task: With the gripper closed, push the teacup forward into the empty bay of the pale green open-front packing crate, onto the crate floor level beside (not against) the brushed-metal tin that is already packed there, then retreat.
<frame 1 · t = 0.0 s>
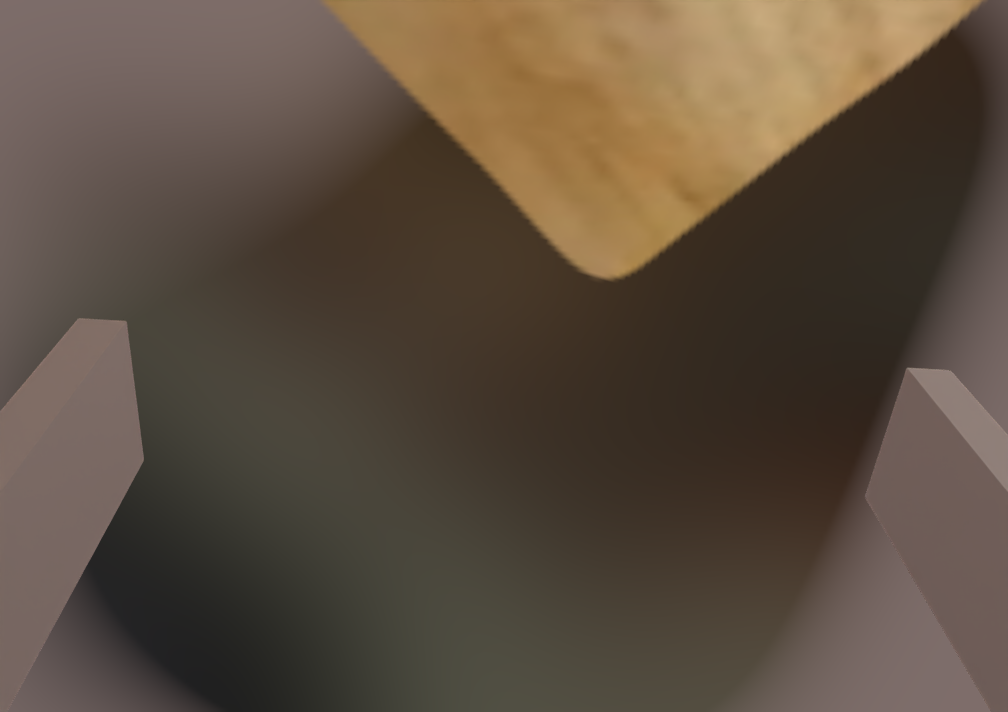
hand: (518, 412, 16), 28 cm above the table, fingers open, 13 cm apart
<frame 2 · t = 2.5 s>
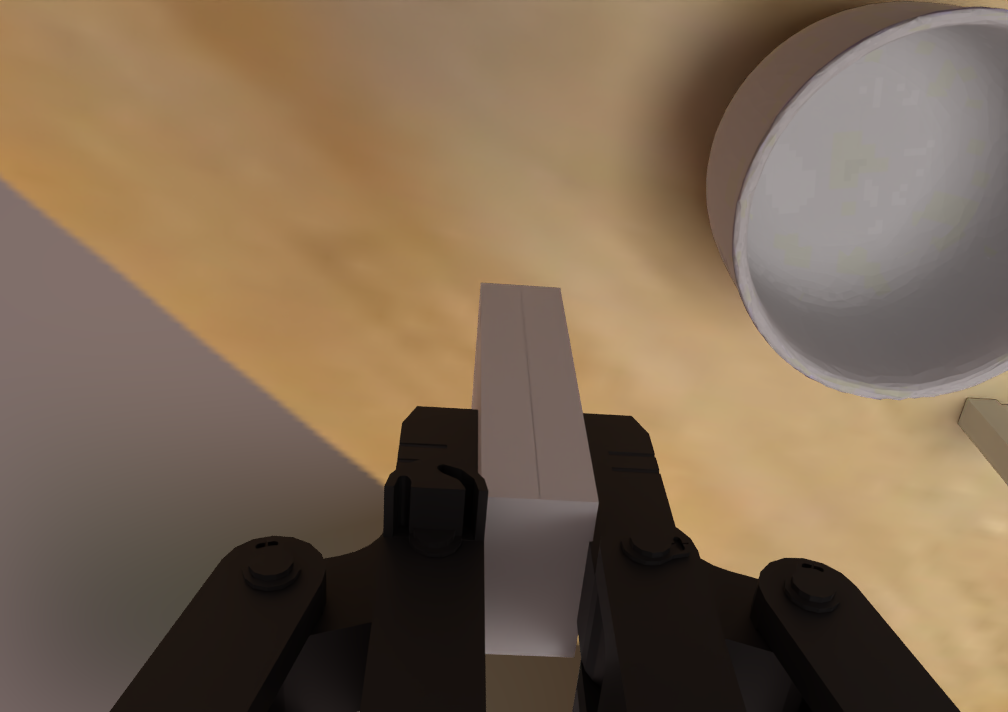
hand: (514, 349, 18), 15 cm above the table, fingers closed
teacup: (880, 153, 32), on the table
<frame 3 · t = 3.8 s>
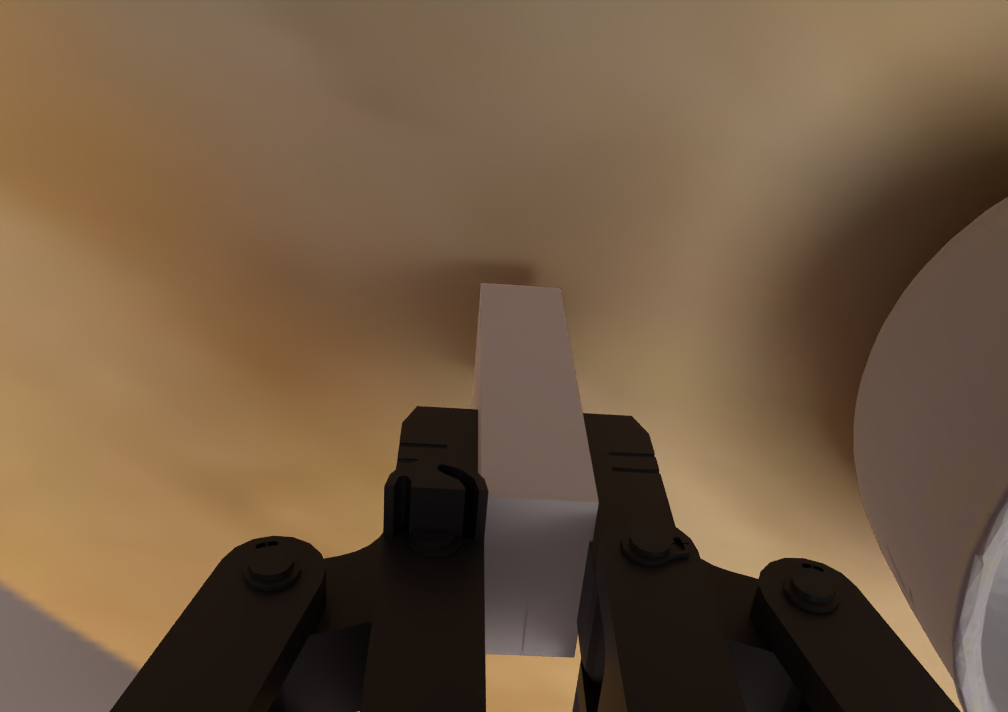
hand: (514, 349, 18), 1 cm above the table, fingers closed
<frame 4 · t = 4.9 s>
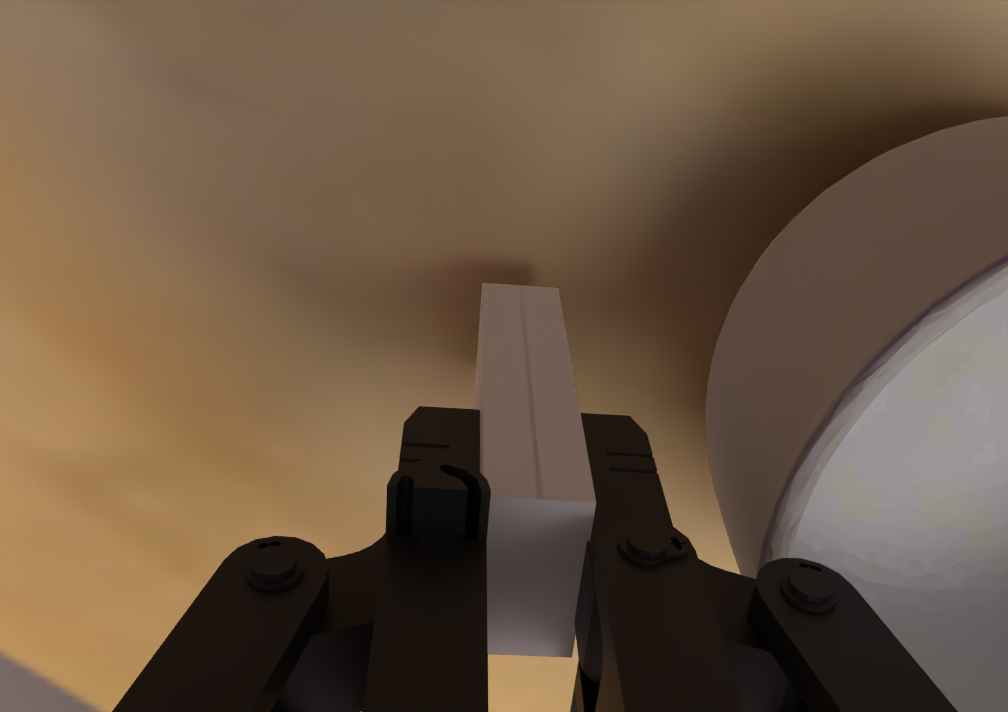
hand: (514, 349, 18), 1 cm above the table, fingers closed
teacup: (989, 331, 20), on the table, touching gripper
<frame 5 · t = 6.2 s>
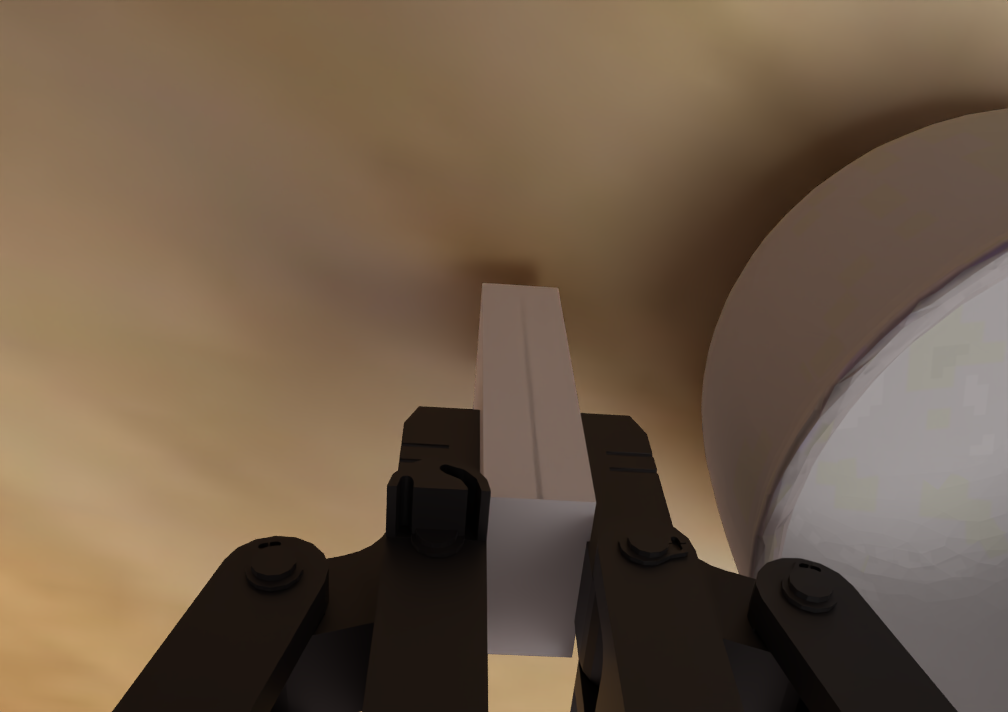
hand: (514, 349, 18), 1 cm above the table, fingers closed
teacup: (986, 323, 20), on the table, touching gripper
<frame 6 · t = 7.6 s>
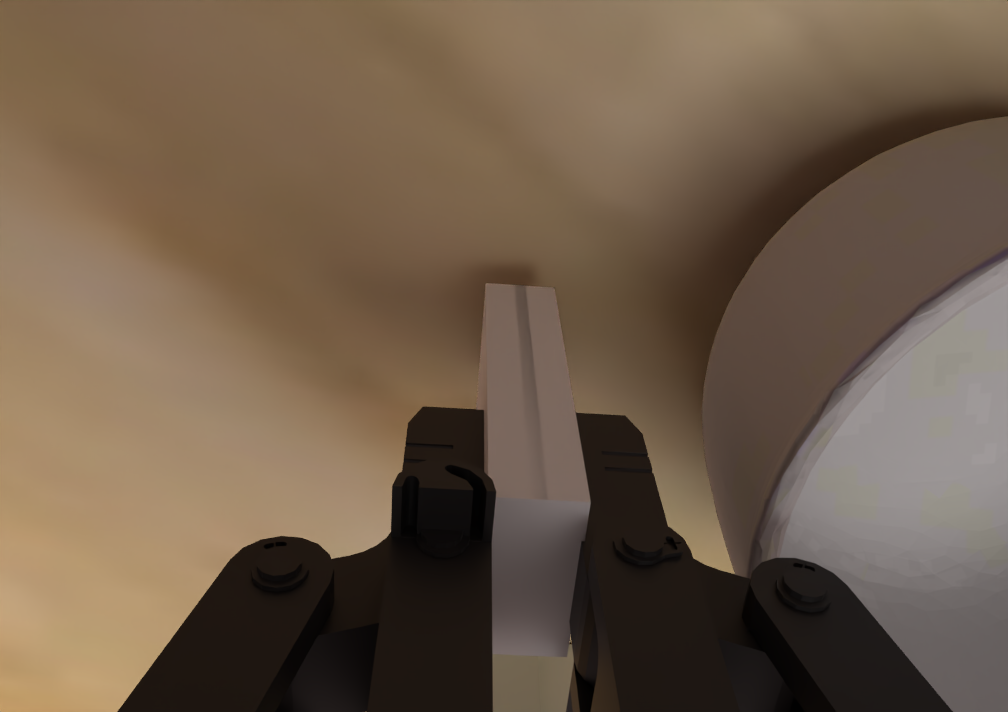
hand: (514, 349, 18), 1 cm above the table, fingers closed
crate: (982, 240, 19), on the table
teacup: (989, 331, 20), on the table, touching crate, gripper
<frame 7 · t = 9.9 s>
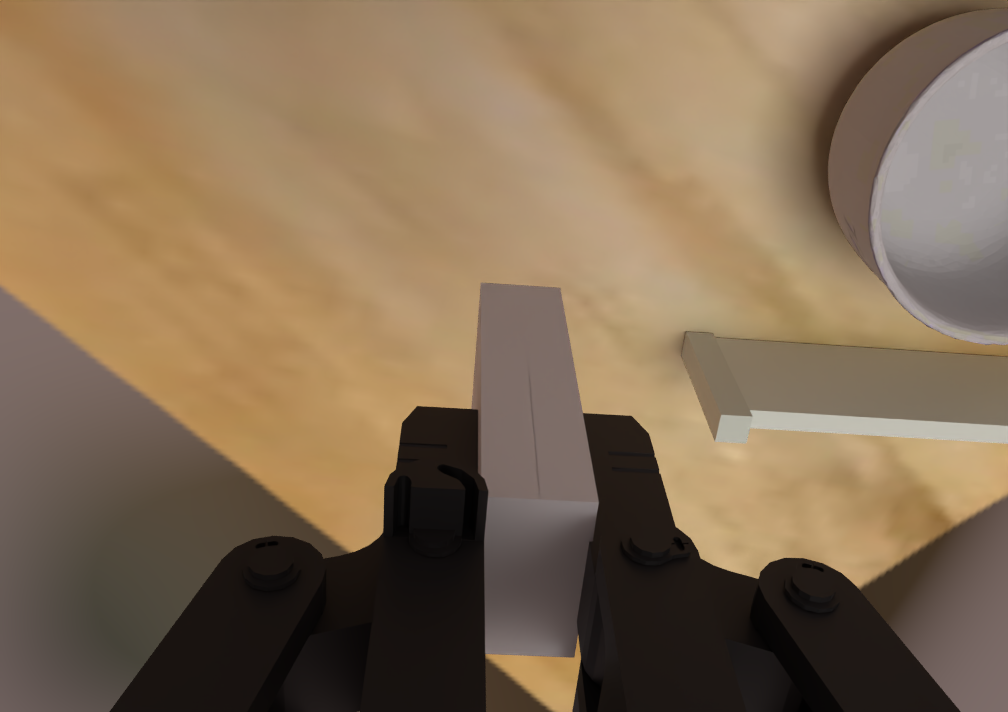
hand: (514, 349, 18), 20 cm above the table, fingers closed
crate: (968, 85, 36), on the table
teacup: (971, 139, 37), on the table
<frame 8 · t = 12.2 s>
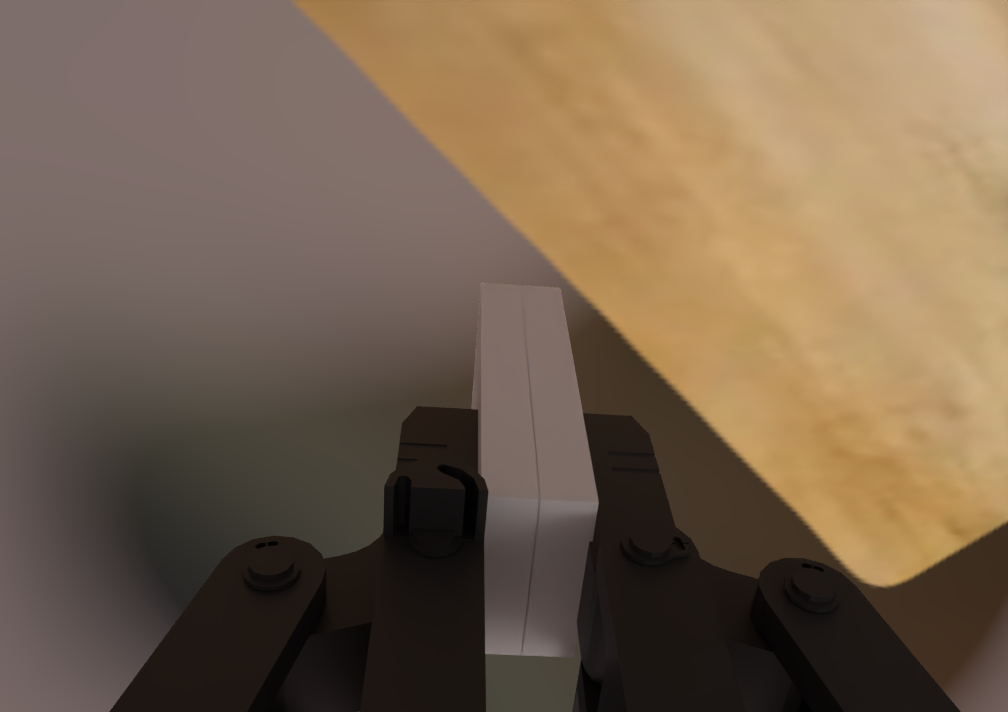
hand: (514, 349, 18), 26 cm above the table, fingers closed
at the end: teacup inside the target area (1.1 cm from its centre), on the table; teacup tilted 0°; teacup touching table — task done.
